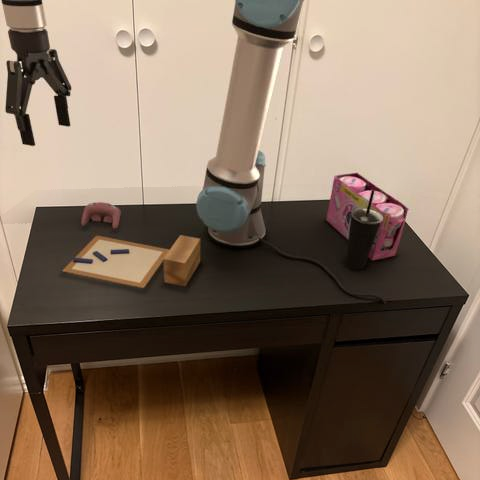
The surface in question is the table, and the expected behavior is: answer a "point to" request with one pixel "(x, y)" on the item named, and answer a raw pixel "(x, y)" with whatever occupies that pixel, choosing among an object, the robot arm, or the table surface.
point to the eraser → (182, 260)
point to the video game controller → (101, 208)
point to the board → (119, 261)
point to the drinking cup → (362, 235)
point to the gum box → (356, 197)
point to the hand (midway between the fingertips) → (47, 134)
